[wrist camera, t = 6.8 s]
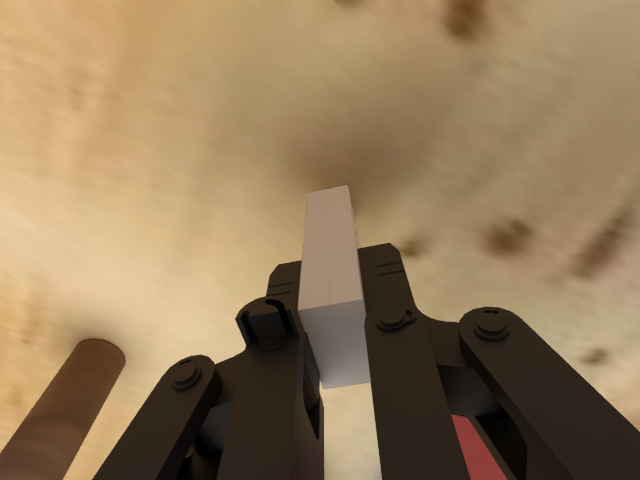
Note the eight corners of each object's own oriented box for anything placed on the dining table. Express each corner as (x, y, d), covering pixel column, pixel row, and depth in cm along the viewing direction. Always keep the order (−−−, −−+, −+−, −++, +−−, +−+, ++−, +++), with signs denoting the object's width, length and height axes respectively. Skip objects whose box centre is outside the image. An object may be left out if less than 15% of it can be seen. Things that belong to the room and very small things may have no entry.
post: (111, 335, 21) (-13, 531, 13) (133, 370, 22) (32, 567, 15) (65, 343, 21) (-82, 539, 14) (90, 377, 23) (-31, 574, 15)
